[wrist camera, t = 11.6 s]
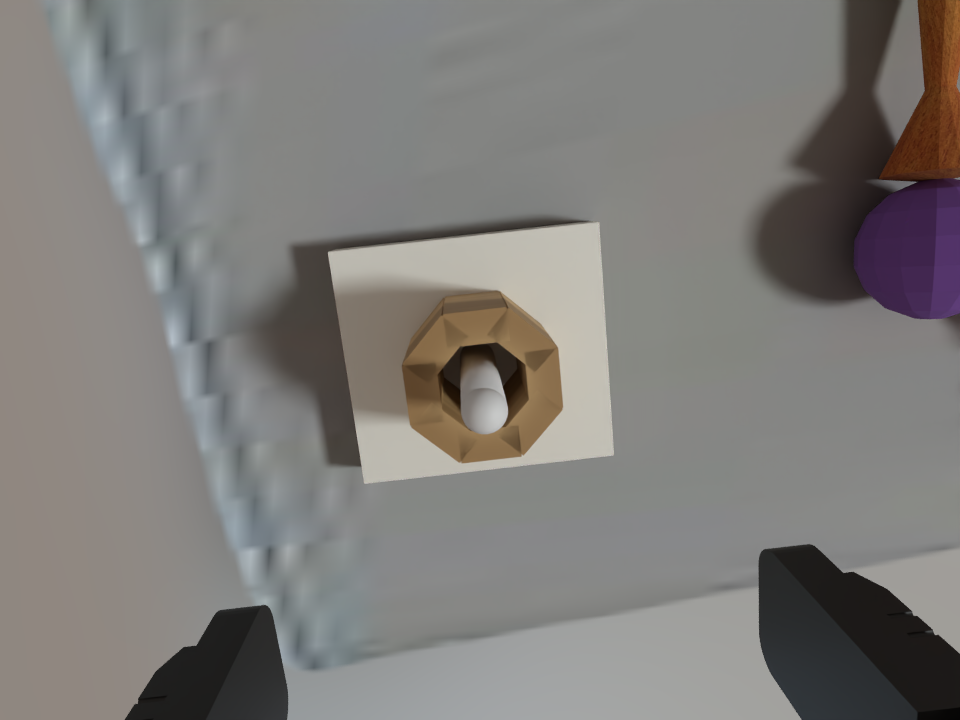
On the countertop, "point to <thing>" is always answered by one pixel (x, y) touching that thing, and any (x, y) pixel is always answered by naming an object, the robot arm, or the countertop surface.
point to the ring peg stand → (475, 368)
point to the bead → (526, 391)
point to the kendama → (921, 189)
